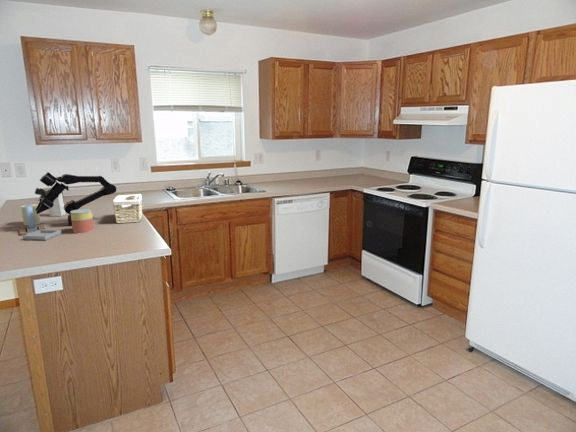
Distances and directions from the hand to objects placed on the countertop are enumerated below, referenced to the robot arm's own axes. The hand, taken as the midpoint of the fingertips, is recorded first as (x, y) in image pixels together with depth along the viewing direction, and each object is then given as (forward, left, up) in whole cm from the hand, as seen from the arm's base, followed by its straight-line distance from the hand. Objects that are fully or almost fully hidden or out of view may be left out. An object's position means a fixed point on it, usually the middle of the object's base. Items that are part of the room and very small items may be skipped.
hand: (36, 212), depth 233 cm
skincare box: (+14, -35, -11) cm, 39 cm away
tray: (-13, +14, -11) cm, 22 cm away
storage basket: (-41, -29, -11) cm, 52 cm away
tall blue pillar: (+3, +2, -11) cm, 11 cm away
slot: (+1, +4, -11) cm, 11 cm away
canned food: (-28, 0, -11) cm, 31 cm away
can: (+15, -13, -11) cm, 22 cm away
